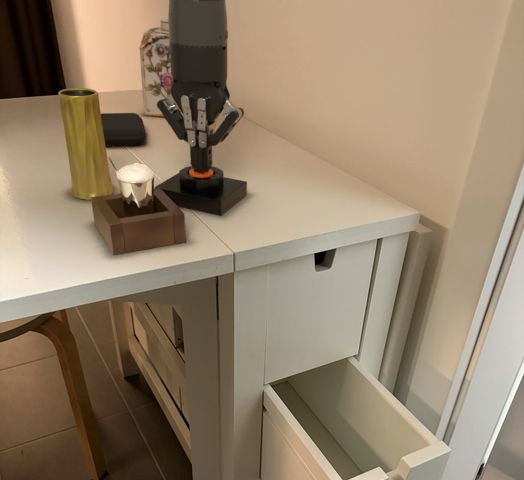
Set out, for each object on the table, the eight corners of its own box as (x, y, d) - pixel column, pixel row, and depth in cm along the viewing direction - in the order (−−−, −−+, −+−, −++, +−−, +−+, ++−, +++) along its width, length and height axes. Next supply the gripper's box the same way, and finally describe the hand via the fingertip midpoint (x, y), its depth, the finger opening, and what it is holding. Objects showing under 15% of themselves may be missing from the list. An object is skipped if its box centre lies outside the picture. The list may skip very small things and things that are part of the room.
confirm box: (155, 201, 83) (153, 175, 80) (184, 182, 89) (183, 158, 87) (221, 215, 80) (221, 188, 77) (246, 195, 86) (247, 169, 84)
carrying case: (89, 127, 112) (89, 149, 101) (87, 111, 110) (86, 132, 99) (142, 126, 115) (148, 147, 103) (141, 110, 113) (146, 130, 101)
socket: (113, 255, 68) (109, 225, 66) (94, 225, 75) (90, 197, 73) (185, 242, 72) (184, 213, 70) (161, 215, 79) (159, 187, 76)
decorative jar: (143, 116, 121) (135, 20, 110) (158, 103, 130) (152, 14, 119) (196, 120, 120) (194, 24, 109) (207, 107, 129) (206, 18, 118)
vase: (96, 203, 81) (81, 99, 73) (63, 195, 83) (44, 93, 75) (121, 190, 86) (110, 90, 77) (89, 183, 88) (75, 85, 79)
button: (185, 184, 82) (184, 172, 81) (196, 177, 85) (196, 165, 84) (206, 188, 81) (206, 177, 80) (217, 181, 84) (217, 169, 83)
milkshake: (122, 226, 75) (114, 151, 69) (161, 228, 75) (156, 154, 69) (113, 240, 72) (103, 163, 66) (154, 243, 72) (147, 166, 66)
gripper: (138, 37, 71) (149, 171, 81) (232, 47, 67) (231, 187, 77) (168, 30, 76) (175, 157, 87) (256, 40, 73) (252, 171, 83)
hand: (201, 171), depth 82 cm, fingers closed
